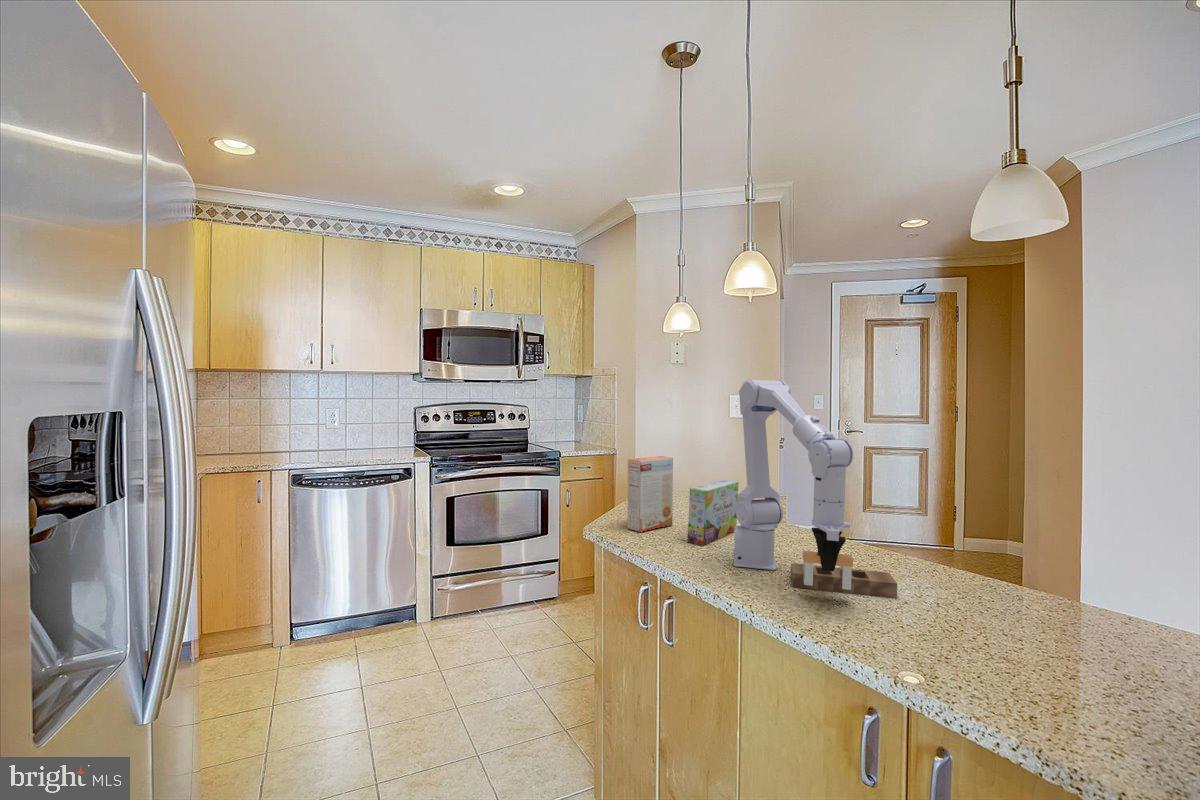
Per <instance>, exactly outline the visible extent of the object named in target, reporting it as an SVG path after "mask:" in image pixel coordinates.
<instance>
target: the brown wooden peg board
mask: <svg viewBox="0 0 1200 800" xmlns="http://www.w3.org/2000/svg"><path fill="white" fill-rule="evenodd" d="M790 580H791V587H792V588H799V589H808V590H815V591H816V590H819V591H824V592H825V591H827V592H834V593H835V592H836V593H846V594H855V595H863V596H872V597H873V596H874V597H881V598H892V599H898V582H897V580H895V578H894V577H893V576H892V575H891V572H888V571H887V572H886V571H877V570H876V571H874V570H865V569H864V570H863V569H855V568H852V574H851V590H848V589H842V587H841V585H840V567H837V566H835V569H834V571H825V570H823V569H822V566H821V565H814V564H813V586H811V585H804V582H803V563H795V562H794V563H793V562H790Z"/></svg>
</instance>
